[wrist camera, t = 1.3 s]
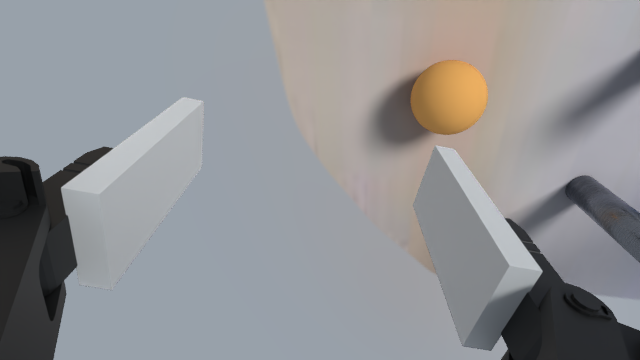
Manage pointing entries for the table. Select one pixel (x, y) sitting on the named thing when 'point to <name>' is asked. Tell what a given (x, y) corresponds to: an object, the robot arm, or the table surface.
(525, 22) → the table surface
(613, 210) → the post
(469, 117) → the ball
